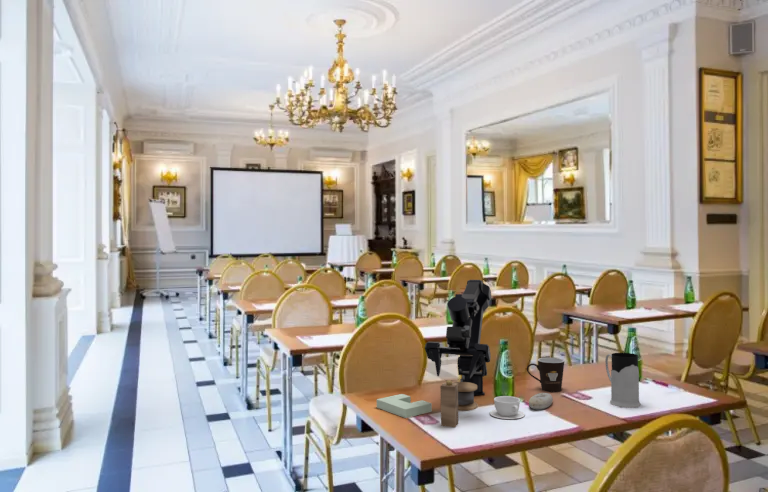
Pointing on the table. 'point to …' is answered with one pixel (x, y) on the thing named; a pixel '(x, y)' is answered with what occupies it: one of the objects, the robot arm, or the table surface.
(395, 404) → the notched board
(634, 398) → the glass holder
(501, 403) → the teacup
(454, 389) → the tab block
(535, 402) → the decorative stone
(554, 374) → the coffee mug
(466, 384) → the spool
